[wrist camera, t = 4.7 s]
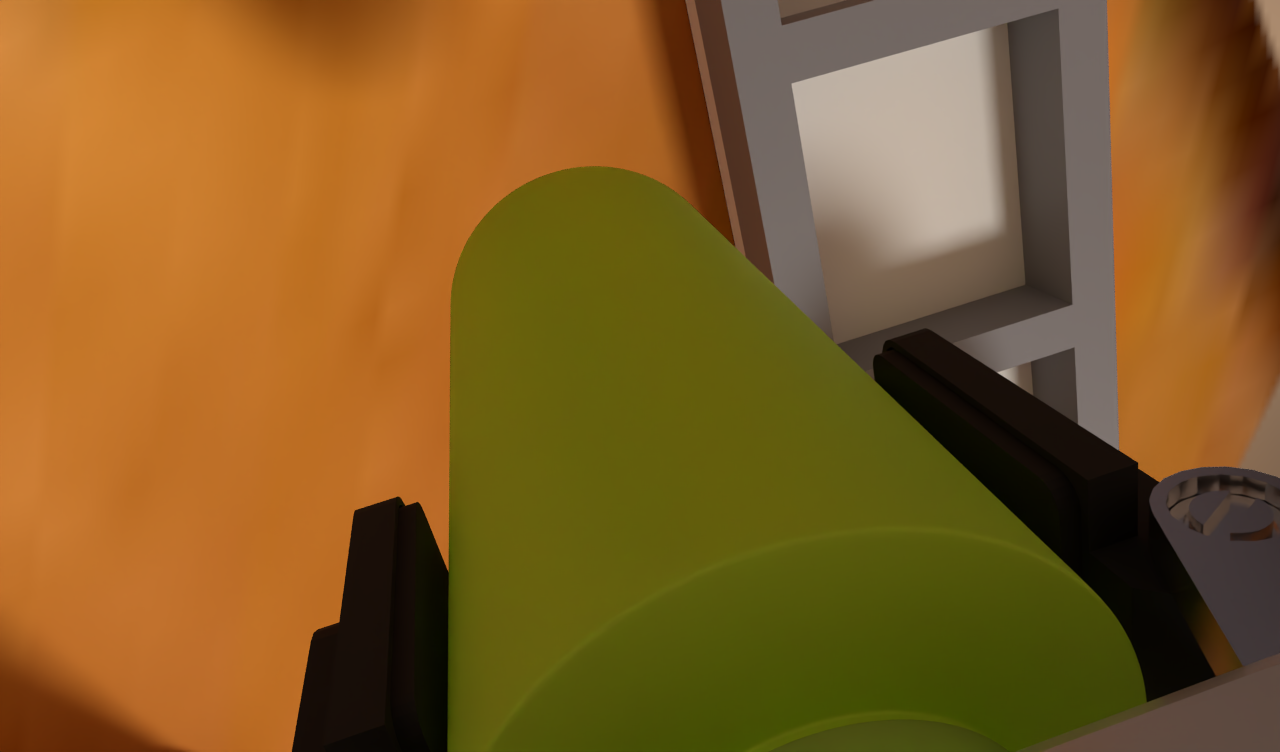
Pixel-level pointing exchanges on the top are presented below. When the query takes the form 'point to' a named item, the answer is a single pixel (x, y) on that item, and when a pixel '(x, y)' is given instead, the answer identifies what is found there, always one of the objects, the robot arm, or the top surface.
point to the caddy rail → (928, 177)
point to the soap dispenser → (722, 516)
